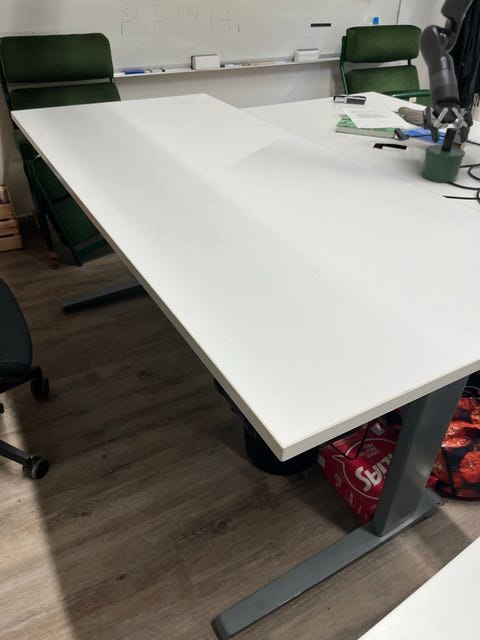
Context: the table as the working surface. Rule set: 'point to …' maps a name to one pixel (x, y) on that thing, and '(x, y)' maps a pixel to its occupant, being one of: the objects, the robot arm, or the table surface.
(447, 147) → the lid
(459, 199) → the table surface
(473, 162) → the table surface
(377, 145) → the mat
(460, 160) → the pot
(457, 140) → the food container
